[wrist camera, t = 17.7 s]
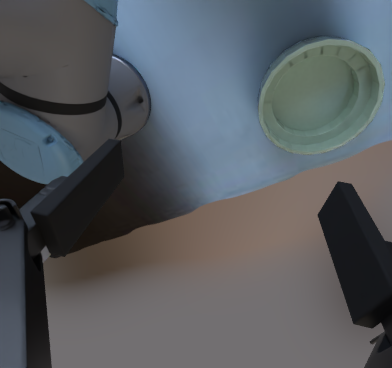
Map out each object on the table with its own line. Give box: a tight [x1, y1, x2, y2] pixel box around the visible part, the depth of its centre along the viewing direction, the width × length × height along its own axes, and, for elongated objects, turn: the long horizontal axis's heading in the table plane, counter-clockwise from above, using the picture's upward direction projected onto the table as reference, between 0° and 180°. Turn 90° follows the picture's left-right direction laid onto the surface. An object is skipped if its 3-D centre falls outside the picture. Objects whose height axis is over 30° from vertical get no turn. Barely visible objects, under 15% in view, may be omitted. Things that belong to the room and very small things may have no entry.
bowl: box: [258, 36, 385, 155], centre depth 36 cm, size 16×16×6 cm
